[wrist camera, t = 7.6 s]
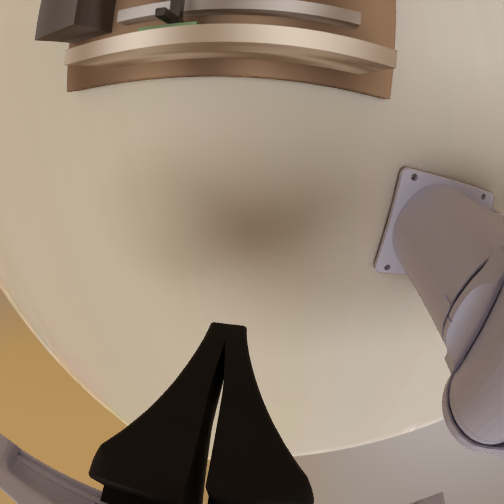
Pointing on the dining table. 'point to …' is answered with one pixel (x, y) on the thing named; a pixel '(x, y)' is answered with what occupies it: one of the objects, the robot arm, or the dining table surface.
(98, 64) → the gauge base
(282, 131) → the dining table surface
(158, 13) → the block
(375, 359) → the dining table surface
